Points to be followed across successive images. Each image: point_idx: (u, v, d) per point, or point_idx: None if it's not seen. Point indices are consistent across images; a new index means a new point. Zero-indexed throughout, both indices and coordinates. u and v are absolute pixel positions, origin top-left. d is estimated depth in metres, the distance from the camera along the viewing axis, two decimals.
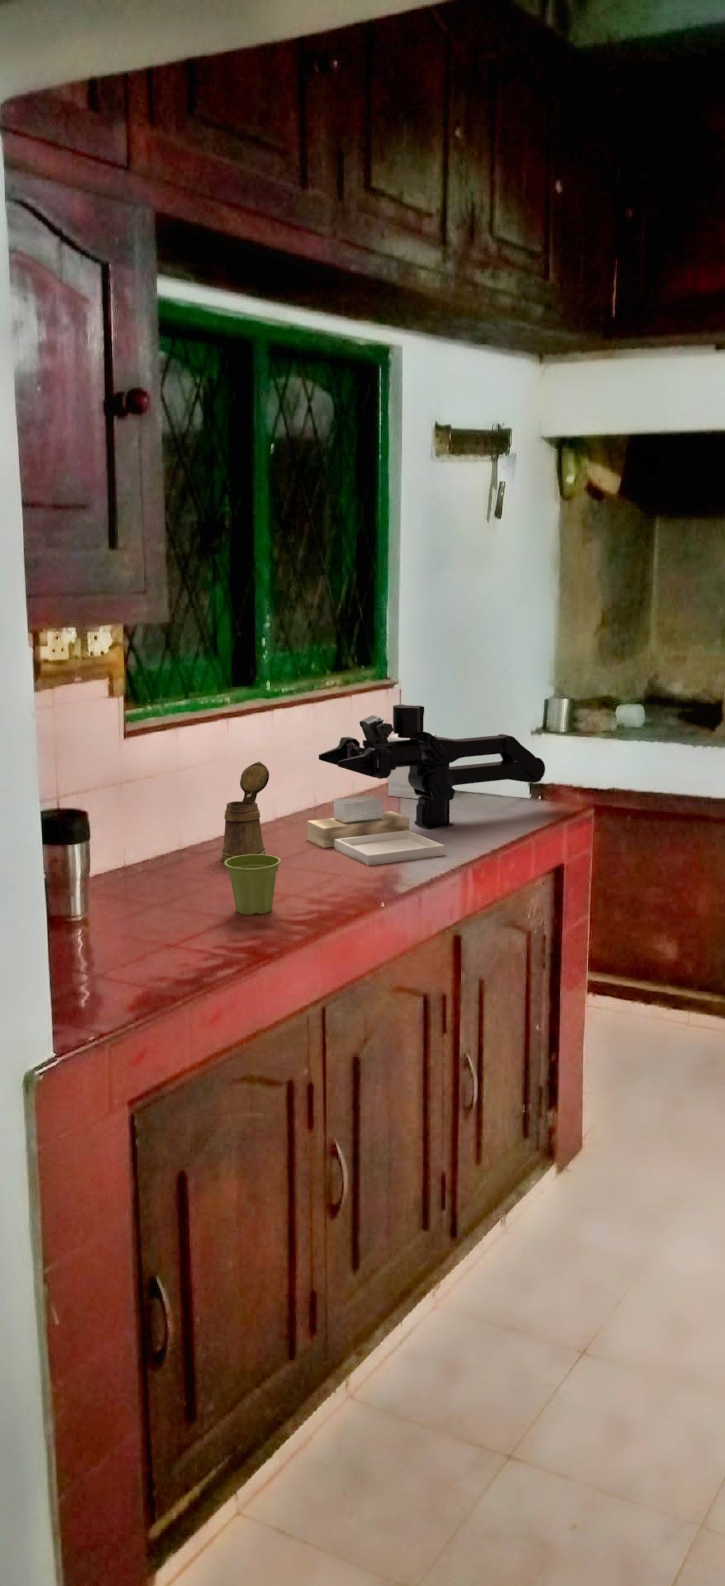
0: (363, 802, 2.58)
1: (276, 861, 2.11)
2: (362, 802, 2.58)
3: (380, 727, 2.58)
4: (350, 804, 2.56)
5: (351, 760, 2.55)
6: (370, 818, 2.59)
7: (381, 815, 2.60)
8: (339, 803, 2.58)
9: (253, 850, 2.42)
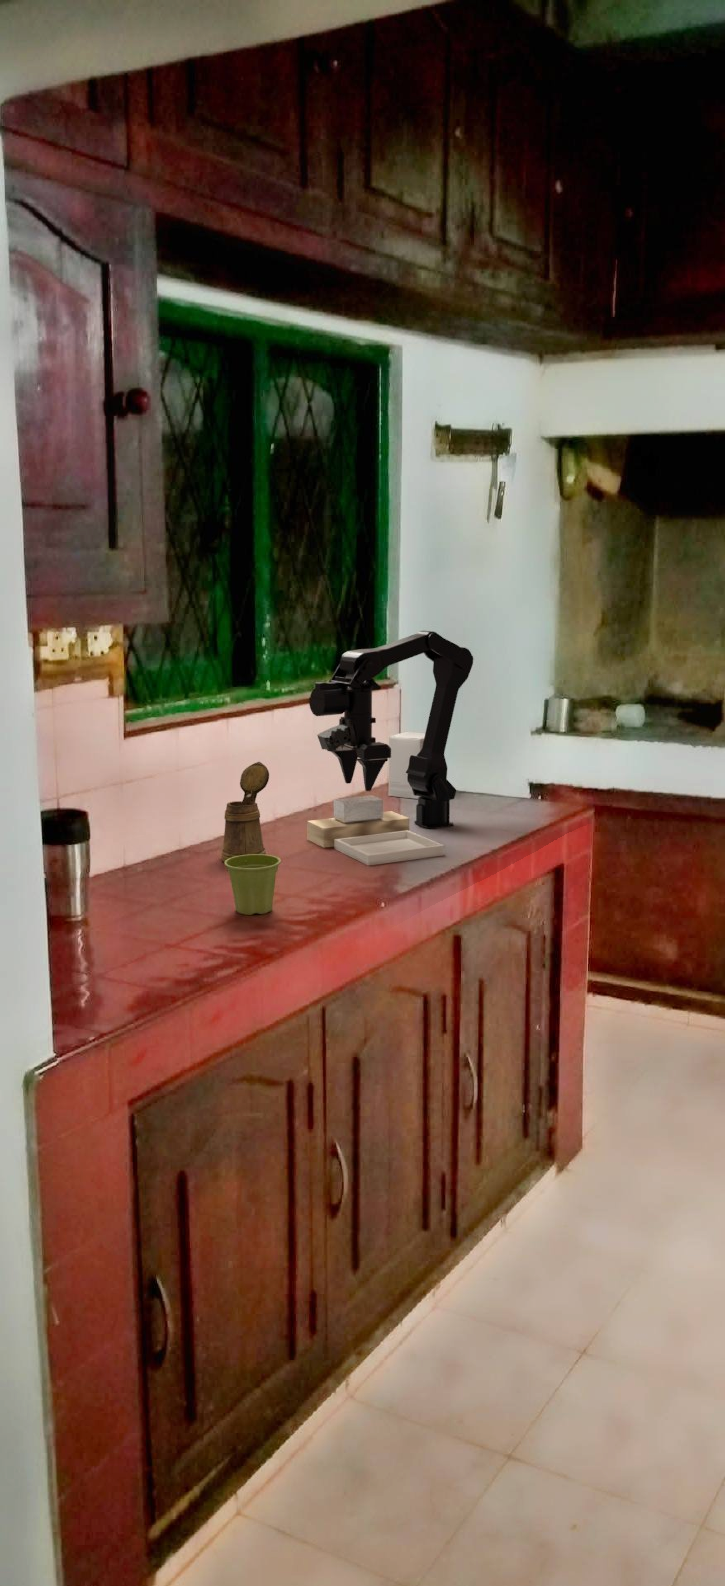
0: (363, 802, 2.58)
1: (276, 861, 2.11)
2: (362, 802, 2.58)
3: (337, 744, 2.51)
4: (350, 804, 2.56)
5: (367, 779, 2.54)
6: (370, 818, 2.59)
7: (381, 815, 2.60)
8: (339, 803, 2.58)
9: (253, 850, 2.42)
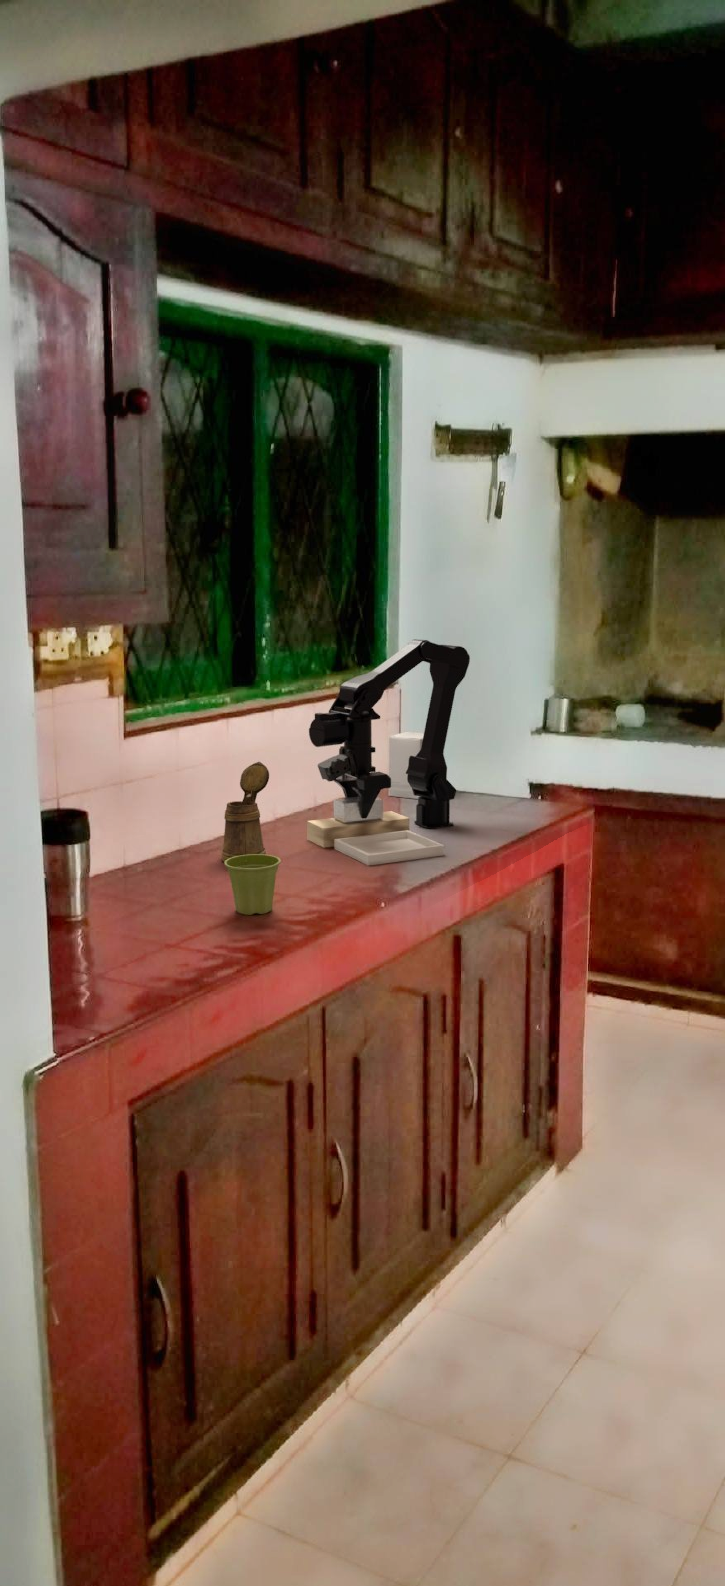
0: None
1: (276, 861, 2.11)
2: None
3: (337, 774, 2.52)
4: (350, 804, 2.56)
5: (363, 807, 2.57)
6: (370, 818, 2.59)
7: (381, 815, 2.60)
8: (339, 803, 2.58)
9: (253, 850, 2.42)
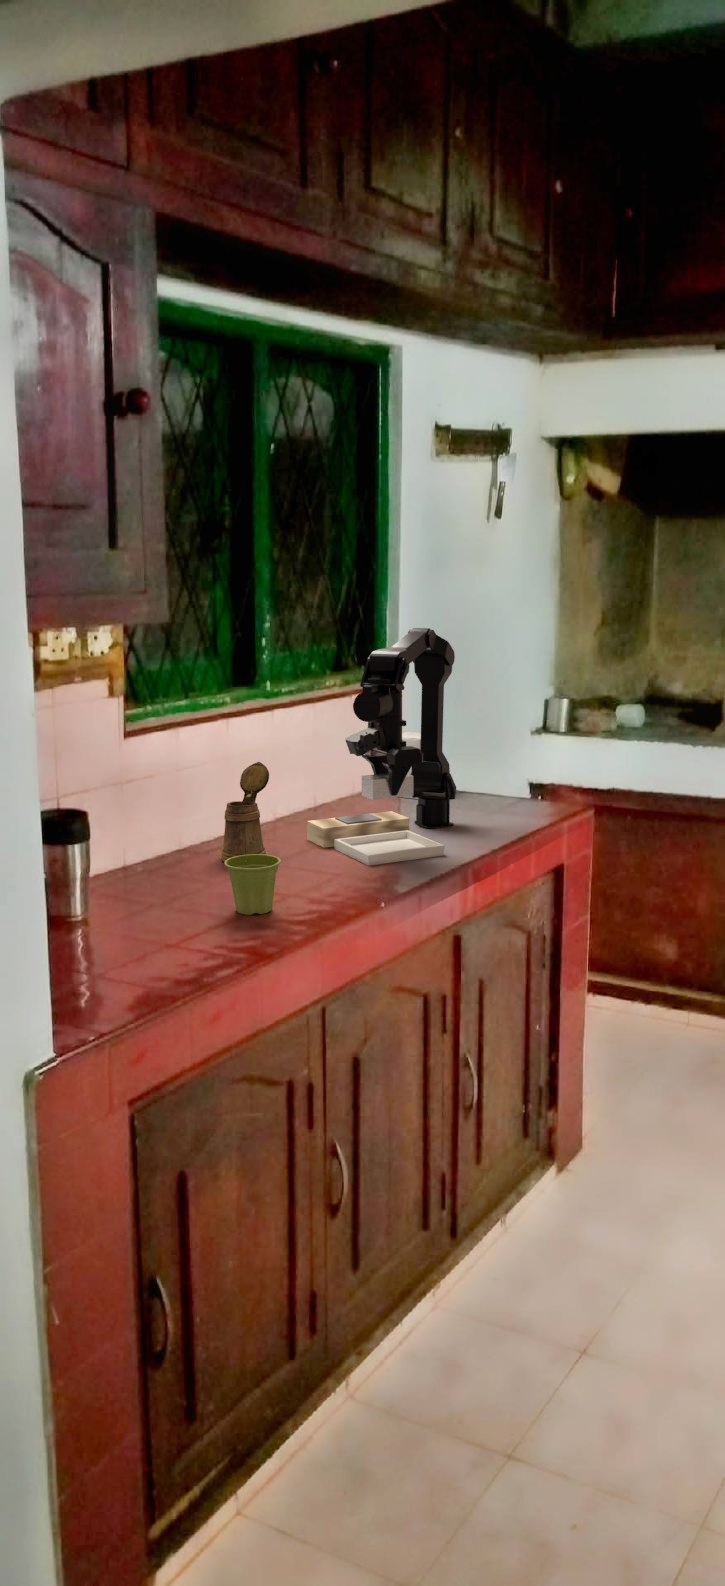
0: None
1: (276, 861, 2.11)
2: None
3: (366, 748, 2.39)
4: (379, 780, 2.43)
5: (393, 783, 2.44)
6: (400, 795, 2.46)
7: (411, 793, 2.47)
8: (367, 779, 2.45)
9: (253, 850, 2.42)
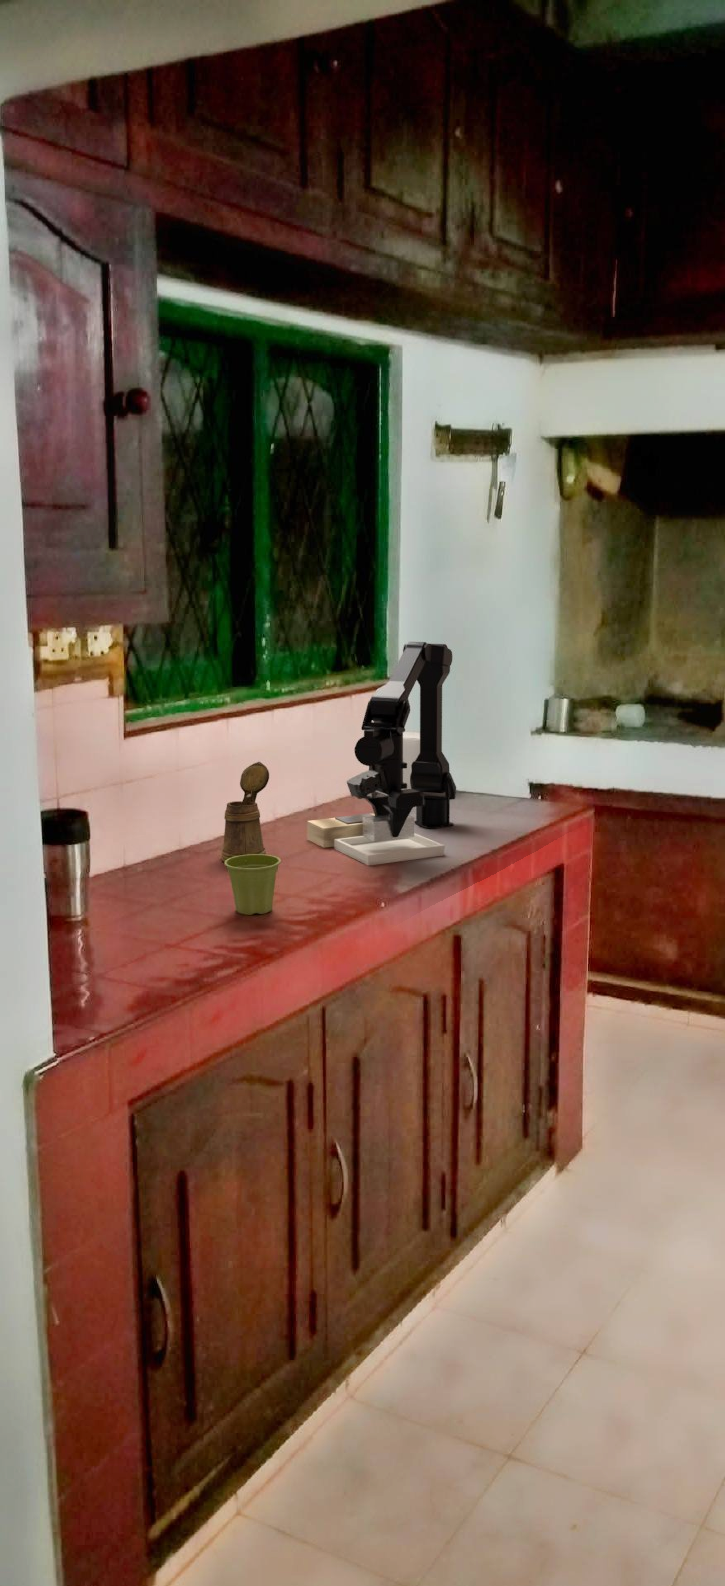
0: None
1: (276, 861, 2.11)
2: None
3: (368, 792, 2.40)
4: (380, 822, 2.45)
5: (394, 825, 2.45)
6: (401, 837, 2.48)
7: (412, 834, 2.49)
8: (369, 821, 2.46)
9: (253, 850, 2.42)
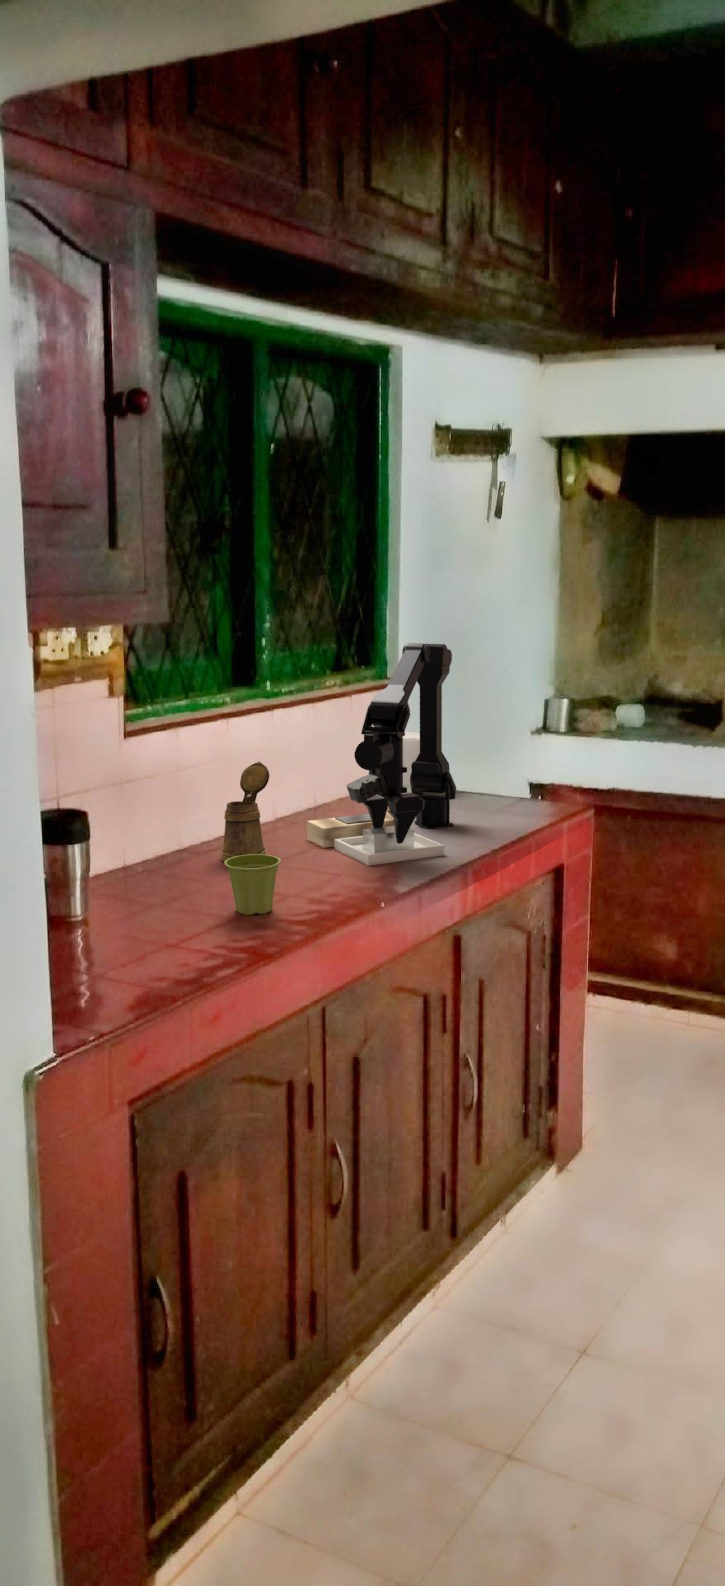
0: (394, 833, 2.47)
1: (276, 861, 2.11)
2: (393, 833, 2.47)
3: (368, 796, 2.41)
4: (380, 835, 2.45)
5: (399, 831, 2.44)
6: (401, 849, 2.48)
7: (412, 846, 2.49)
8: (369, 834, 2.47)
9: (253, 850, 2.42)
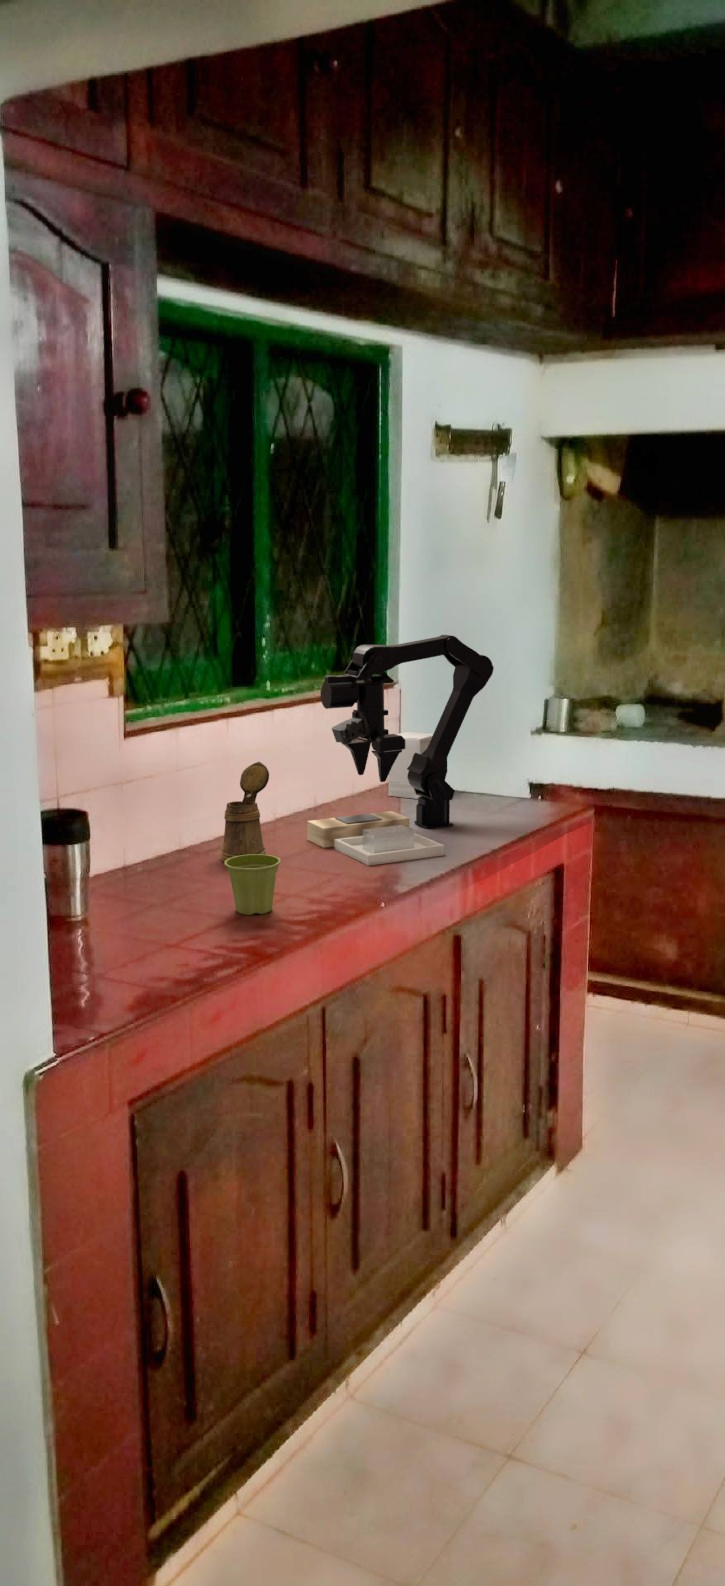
0: (394, 833, 2.47)
1: (276, 861, 2.11)
2: (393, 833, 2.47)
3: (352, 737, 2.56)
4: (380, 835, 2.45)
5: (382, 770, 2.59)
6: (401, 849, 2.48)
7: (412, 846, 2.49)
8: (369, 834, 2.47)
9: (253, 850, 2.42)
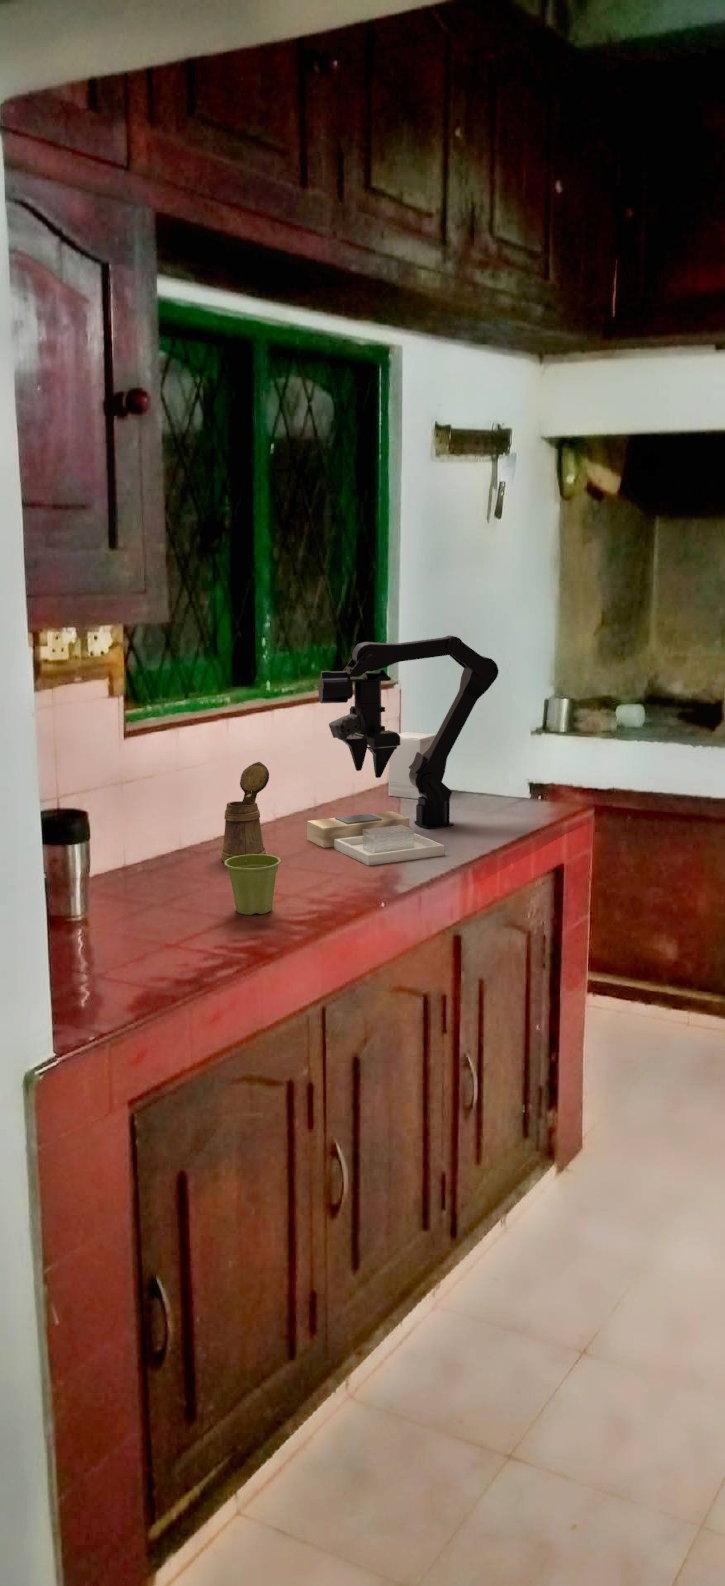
0: (394, 833, 2.47)
1: (276, 861, 2.11)
2: (393, 833, 2.47)
3: (348, 732, 2.59)
4: (380, 835, 2.45)
5: (377, 766, 2.62)
6: (401, 849, 2.48)
7: (412, 846, 2.49)
8: (369, 834, 2.47)
9: (253, 850, 2.42)
